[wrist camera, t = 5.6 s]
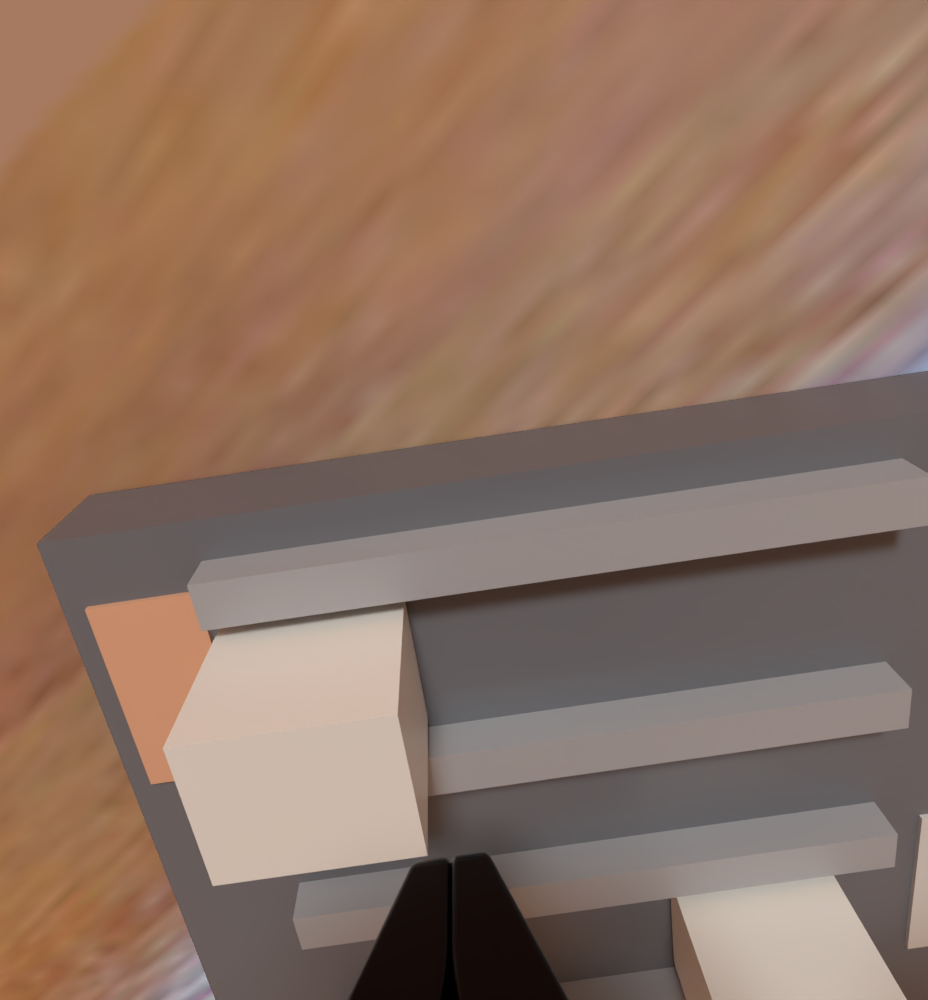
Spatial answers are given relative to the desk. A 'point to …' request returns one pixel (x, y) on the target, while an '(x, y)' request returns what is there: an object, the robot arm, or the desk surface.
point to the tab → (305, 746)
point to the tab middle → (777, 945)
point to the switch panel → (565, 670)
